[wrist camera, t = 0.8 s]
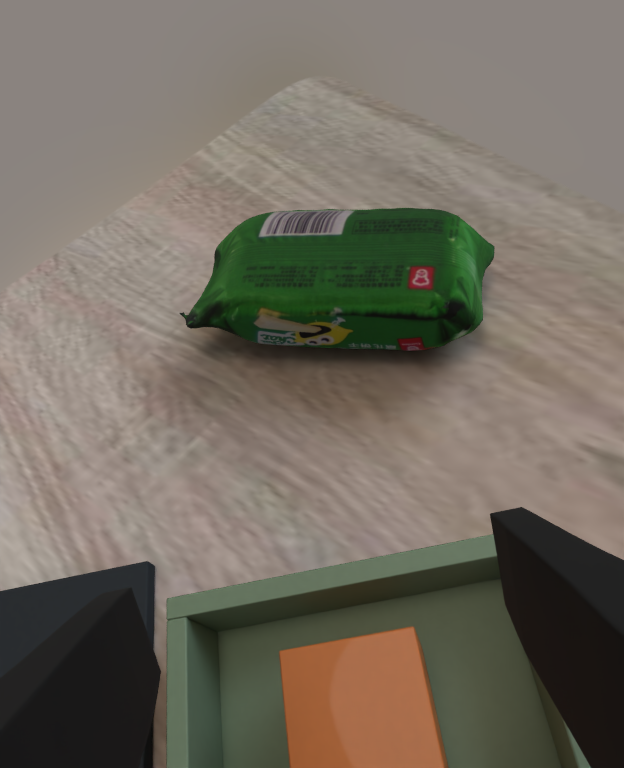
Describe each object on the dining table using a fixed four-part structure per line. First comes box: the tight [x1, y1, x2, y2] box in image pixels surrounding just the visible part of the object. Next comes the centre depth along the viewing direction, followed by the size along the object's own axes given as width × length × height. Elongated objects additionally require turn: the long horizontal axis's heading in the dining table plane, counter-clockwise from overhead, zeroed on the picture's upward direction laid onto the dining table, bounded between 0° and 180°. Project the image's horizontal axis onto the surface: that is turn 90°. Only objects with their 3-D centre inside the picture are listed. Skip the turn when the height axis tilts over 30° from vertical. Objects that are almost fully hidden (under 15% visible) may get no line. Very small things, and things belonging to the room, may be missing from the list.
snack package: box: [180, 208, 494, 351], centre depth 31 cm, size 7×16×5 cm, turn 79°
